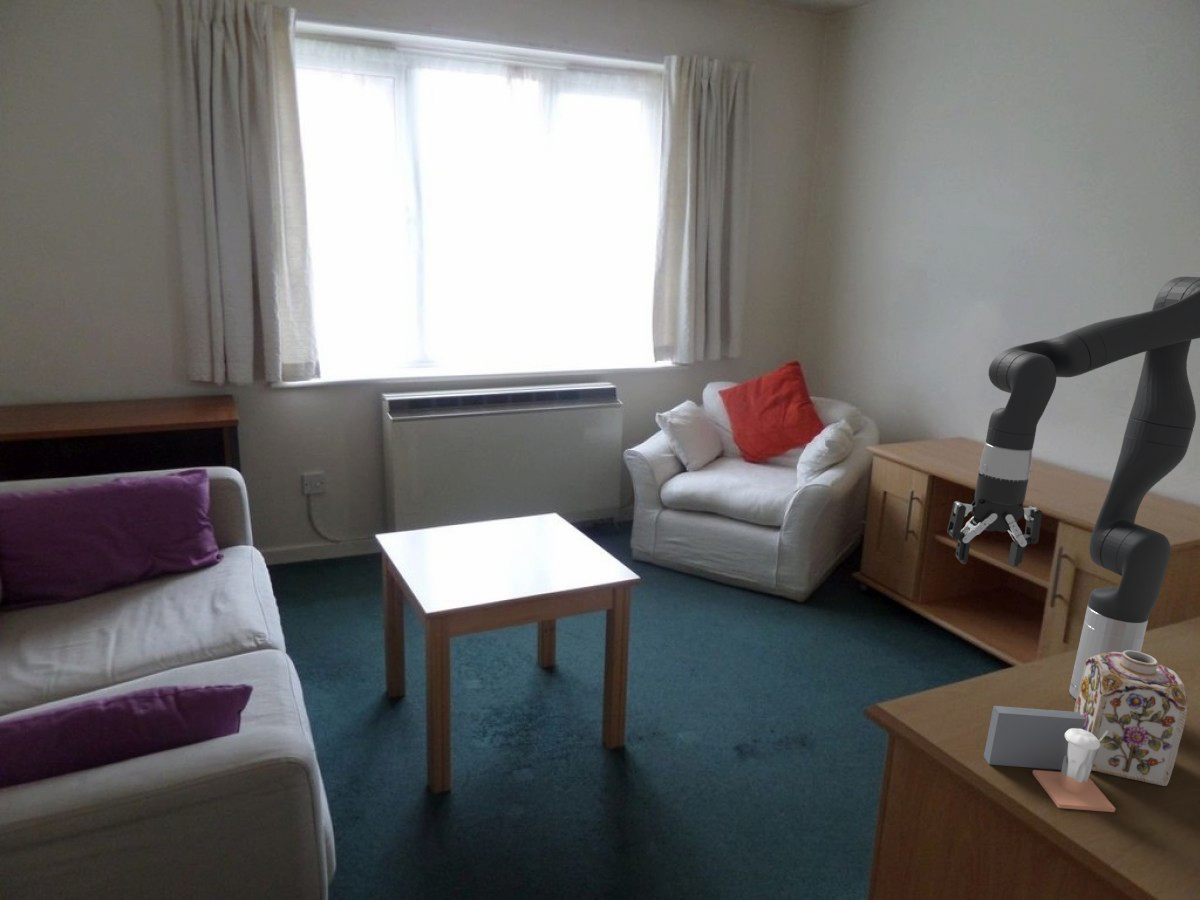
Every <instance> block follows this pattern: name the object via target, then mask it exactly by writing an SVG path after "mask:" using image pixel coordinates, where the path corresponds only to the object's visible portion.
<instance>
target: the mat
mask: <svg viewBox="0 0 1200 900" xmlns="http://www.w3.org/2000/svg"><path fill="white" fill-rule="evenodd" d="M1032 775H1033V776H1034V778H1035V779H1036V780H1037V781H1038V783H1039V784H1040V785H1041V787H1042V788H1043V789H1044V791H1045V792H1046V794H1047V795H1048V796H1049V798H1050V800H1052V801H1053V803H1054V804H1055V806H1056V807H1057V809H1067V810H1068V809H1070V810H1080V811H1081V810H1082V811H1093V812H1094V811H1095V812H1108V813H1109V812H1110V813H1115V811H1116V807H1115V806H1114V805H1113V803H1112V802H1110V801H1109V799H1108V798H1107V797H1106V795H1105V794H1104V793H1103V792H1102V790H1100V789H1099V787H1098V786H1097V785H1096V784H1095V783H1094V782H1093V780H1092V779H1091V778H1090V777H1089V778H1088V781H1087V784H1086V787H1085V790H1084V792H1083V793H1080V794H1077V793H1071V792H1069V791H1067V790H1065V789H1064V788H1063V787H1062V786H1061V785H1060V776H1061V771H1053V770H1040V769H1039V770H1037V769H1033V770H1032Z"/></svg>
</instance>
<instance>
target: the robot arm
mask: <svg viewBox="0 0 1200 900" xmlns="http://www.w3.org/2000/svg"><path fill="white" fill-rule="evenodd" d="M1197 339H1200V277H1199V276H1179V277H1178V276H1177V277H1174V278H1172V279H1170V280H1169V281H1167V282H1166V283H1165V284H1164V285H1163V286H1162V287H1161V288H1160V290H1159V292H1158V293H1157V295H1156V297H1155V300H1154V302H1153V306H1152V310H1149V311H1145V312H1140V313H1136V314H1131V315H1126V316H1120V317H1116V318H1115V317H1114V318H1109V319H1106V320H1105V319H1104V320H1101V321H1098V322H1094V323H1092V324H1088V325H1085V326H1083V327H1080V328H1077V329H1073V330H1072V331H1069V332H1065V333H1063V334H1061V335H1059V336H1057V337H1053V338H1049V339H1043V340H1037V341H1034V342H1033V341H1032V342H1028V343H1024V344H1020V345H1016V346H1013V347H1010V348H1008V349H1005V350H1004V351H1002V352H1000V353H999V354H998V355H996V356H995V357H994V358H993V360H992V361H991V363H990V365H989V367H988V378H989V381H990V383H991V384H992V385H993V386H994V387H995V388H997V389H998V390H1000V391H1002V392H1005V393H1008V394H1010V396H1009V398H1008V401H1007V402H1006V405H1005V407H999V408H996V409H995V410H993V411H992V413H991V414H990V418H989V422H988V427H987V431H986V432H987V433H986V438H985V443H984V446H983V449H982V453H981V455H980V456H981V457H980V463H979V468H978V475H977V479H976V485H975V491H974V500H973V502H971V504H969V503H963V502H960V501H959V500H956V501H954V502H953V504H952V508H951V512H950V517H949V521H948V526H947V528H946V529H947V530H946V532H947V534H948V535H949V536H951V537H952V539H954V540H957V543H956V547H955V548H956V549H955V557H956V559H957V561H958V562H960V563H961V564H963V565H967V563H968V560H969V559H968V558H969V552H970V546H971V543H970V542H971V541H972V540H973V539H974V538H975V537H976V536H977V535H980V534H981V533H982V532H983V531H986V532H995V531H996V532H999V533H1006V532H1008V533H1009V535H1010V537H1011V538H1012V540H1013V541H1011V544H1010V549H1009V555H1008V559H1007V563H1008V564H1009V565H1010V566H1011V568H1012V567H1013V568H1018V567H1019V565H1020V564H1021V563H1022V561H1023V557H1024V552H1025V548H1026V546H1027V545H1030V544H1033V545H1037V544H1038V542H1039V539H1040V532H1041V525H1042V524H1041V523H1042V518H1043V517H1042V515H1043V512H1042V510H1040V509H1039V508H1038V507H1036V506H1034V505H1030V506H1028V507H1024V502H1025V500H1026V496H1027V491H1028V490H1027V489H1028V484H1029V480H1030V475H1031V471H1032V469H1031V468H1032V464H1033V463H1032V462H1033V451H1034V450H1033V449H1034V443H1035V440H1036V434H1037V433H1036V432H1037V426H1038V423H1039V421H1040V420H1041V418H1042V416H1043V415H1044V412H1045V411H1046V408H1047V406H1048V404H1049V402H1050V400H1051V397H1052V395H1053V393H1054V391H1055V388H1056V384H1057V378H1074V377H1077V376H1081V375H1083V374H1086V373H1089V372H1092V371H1095V370H1096V369H1099V368H1102V367H1105V366H1108V365H1110V364H1112V363H1115V362H1118V361H1120V360H1123V359H1127V358H1129V357H1132V356H1136V355H1139V354H1143V353H1145V354H1144V359H1143V363H1142V368H1141V372H1140V377H1139V382H1138V385H1137V388H1136V394H1135V397H1134V401H1133V404H1132V408H1131V410H1130V413H1129V417H1128V420H1127V425H1126V428H1125V430H1124V435H1123V439H1122V444H1121V448H1120V453H1119V455H1118V459H1117V462H1116V465H1115V469H1114V473H1113V476H1112V479H1111V482H1110V486H1109V489H1108V491H1107V495H1106V496H1105V498H1104V500H1103V504H1102V505H1101V509H1100V511H1099V513H1098V517H1097V519H1096V521H1095V524H1094V527H1093V529H1092V533H1091V535H1090V540H1089V546H1088V553H1089V556H1090V559H1091V561H1092V562H1093V563H1094V564H1096V565H1097V566H1098V567H1100V568H1101V567H1102V568H1103V569H1105V570H1107V571H1110V572H1112V573H1114V574H1117V575H1119V576H1121V578H1120V582H1119V585H1118V587H1114V586H1113V587H1112V586H1101V587H1097V588H1094V589H1092V590H1091V592H1090V594H1089V597H1088V603H1087V607H1086V611H1085V614H1084V615H1085V616H1084V621H1083V625H1082V628H1081V629H1082V630H1081V634H1080V639H1079V644H1078V646H1077V647H1078V649H1077V652H1076V657H1075V662H1074V667H1073V671H1072V676H1071V680H1070V686H1069V688H1068V689H1069V691H1068V692H1069V695H1071V697H1072V698H1073V699H1075V700H1076V699H1077V695H1078V691H1079V687H1080V682H1081V679H1082V675H1083V671H1084V666H1085V662H1086V661H1087V660H1088V658H1091V657H1094V656H1095V655H1099V654H1102V653H1109V652H1121V653H1122V652H1124V651H1127V650H1132V651H1138V652H1142V648H1143V643H1144V640H1145V639H1144V638H1145V635H1146V631H1147V627H1148V622H1149V618H1150V615H1151V611H1152V610H1153V609H1154V607H1155V605H1156V603H1157V601H1158V599H1159V596H1160V592H1161V589H1162V586H1163V581H1164V578H1165V576H1166V573H1167V570H1168V567H1169V563H1170V558H1171V544H1170V541H1169V538H1168V537H1167V536H1165V534H1162V533H1161V532H1159V531H1156V530H1154V529H1151V528H1148V527H1145V526H1142V525H1140V524H1137V523H1135V522H1136V517H1137V514H1138V512H1139V511H1138V510H1139V508H1140V506H1141V503H1142V501H1143V499H1144V498H1145V496H1146V495H1147V494H1148V492H1149V491H1151V489H1152V488H1153V487H1155V485H1156V484H1157V483H1158V482H1160V481H1161V480H1163V478H1164V477H1166V476H1167V475H1168V474H1169V473H1171V472H1172V471H1173V470H1174V469H1175V468H1177V466H1178V465H1179V464H1180V463H1181V462H1182V461H1183V459H1184V458H1185V456H1186V454H1187V452H1188V449H1189V446H1190V442H1191V440H1192V439H1191V438H1192V435H1193V432H1194V428H1195V425H1196V419H1197V418H1196V417H1197V414H1196V413H1197V412H1196V404H1195V400H1194V395H1193V392H1192V389H1191V388H1192V387H1191V384H1190V382H1189V376H1188V369H1187V366H1188V363H1187V362H1188V355H1189V353H1190V352H1189V351H1190V348H1191V343H1192V340H1197ZM969 513H971V514H972V517H971V518H970V519H969V520H968V521H966V523H965V526H964V527H963V523H964V519H965V517H967V516H968V514H969ZM1023 517H1024V519H1025V520H1026V522H1025V530H1024V534H1023V532H1022V530H1021V528H1020V527H1019V526H1018V521H1020V520H1021V519H1022V518H1023ZM962 527H963V528H962Z"/></svg>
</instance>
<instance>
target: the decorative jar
mask: <svg viewBox="0 0 1200 900" xmlns="http://www.w3.org/2000/svg"><path fill="white" fill-rule="evenodd" d="M1186 695H1187V694H1186V688H1185V684H1184V682H1183V681H1182V679H1181V678H1180V676H1179V675H1178V674H1177V673H1176V672H1175V671H1174V670H1172V669H1170V668H1169V667H1167V666H1164V665H1163V664H1160V663H1158V661H1157V659H1156V658H1155V657H1153V656H1151V655H1150V654H1147V653H1145V652H1142V651H1141V652H1138V651H1132V650H1127V651H1124V652H1122V653H1121V652H1109V653H1102V654H1099V655H1095V656H1094V657H1091V658H1088V660H1087V661H1086V662H1085V666H1084V671H1083V675H1082V679H1081V682H1080V687H1079V691H1078V695H1077V699H1075V705H1074V709H1073V710H1074V711H1073V712H1079V713H1080V714H1081V715H1082V716H1083V717H1084V718H1085V722H1084V727H1083V730H1086V731H1088V732H1090V733H1092V734H1093V735H1094V736H1095V737H1096V738H1097V739H1098V740H1099V739H1100V738H1101V737H1102V735H1103V734H1104V733H1105V732H1106V731H1107V730H1108V733H1107V734H1106V735H1105V737H1104V738H1103V739H1102V740H1101V741H1100V747H1099V750H1098V752H1097V755H1096V758H1095V760H1094V763H1093V766H1092V769H1091V772H1092V771H1093V772H1098V773H1101V774H1105V775H1106V774H1107V775H1109V776H1110V775H1111V776H1115V777H1118V778H1125V779H1129V780H1135V781H1139V782H1143V783H1148V784H1152V785H1157V786H1161V787H1167V786H1168V784H1169V783H1170V779H1171V777H1172V773H1173V769H1174V767H1175V763H1176V760H1177V756H1178V751H1179V747H1180V743H1181V739H1182V736H1183V733H1184V728H1185V725H1186V724H1185V723H1186V719H1187V715H1188V710H1189V706H1188V697H1187V696H1186Z"/></svg>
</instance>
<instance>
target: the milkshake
mask: <svg viewBox="0 0 1200 900" xmlns="http://www.w3.org/2000/svg"><path fill="white" fill-rule="evenodd" d="M1107 733H1108V730H1107V731H1106V732H1105V733H1104V734H1103V735H1102V737H1101V738H1100V739H1099V740H1098V739H1097V738H1096V737H1095V736H1094V735H1093V734H1092V733H1090V732H1088V731H1086V730H1083V729H1076V728H1071V729H1069V730H1067V731H1066V732H1065V736H1064V747H1063V760H1062V768H1061V770H1060V772H1061V776H1060V785H1061V786H1062V787H1063V788H1064V789H1065V790H1067V791H1069V792H1071V793H1077V794H1080V793H1083V792H1084V790H1085V787H1086V784H1087V781H1088V778H1090V776H1091V775H1090V774H1091V772H1092V770H1091V769H1092V766H1093V763H1094V760H1095V758H1096V755H1097V752H1098V750H1099V747H1100V741H1101V740H1102V739H1103V738H1104V737H1105V735H1106V734H1107Z"/></svg>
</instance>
